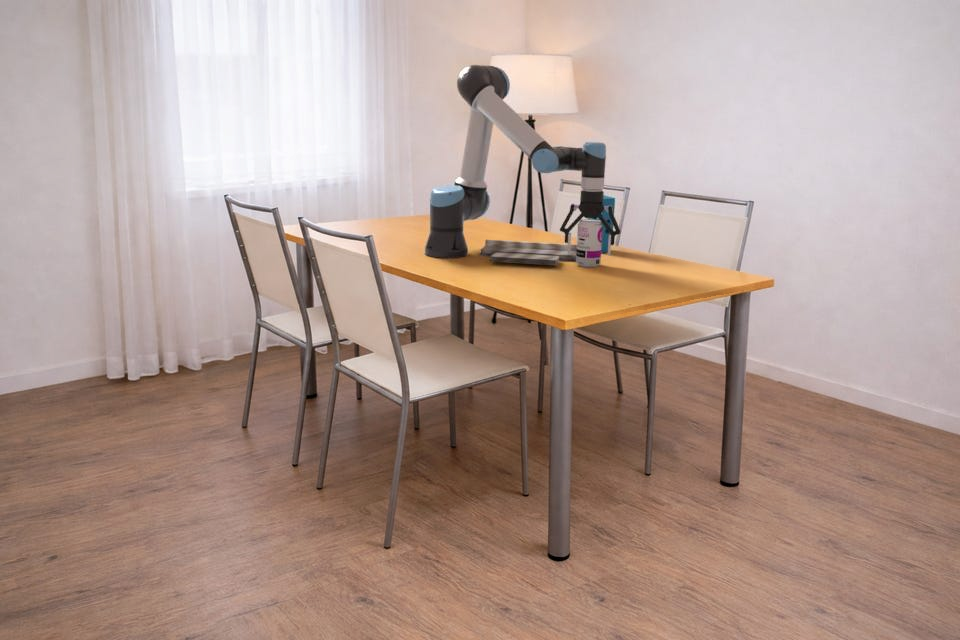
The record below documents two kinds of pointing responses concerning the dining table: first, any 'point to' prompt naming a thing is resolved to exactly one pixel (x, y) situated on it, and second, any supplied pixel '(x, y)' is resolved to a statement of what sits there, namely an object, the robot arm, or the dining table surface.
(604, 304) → the dining table surface
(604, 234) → the block
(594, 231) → the supplement can
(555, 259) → the plank
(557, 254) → the floorboard
